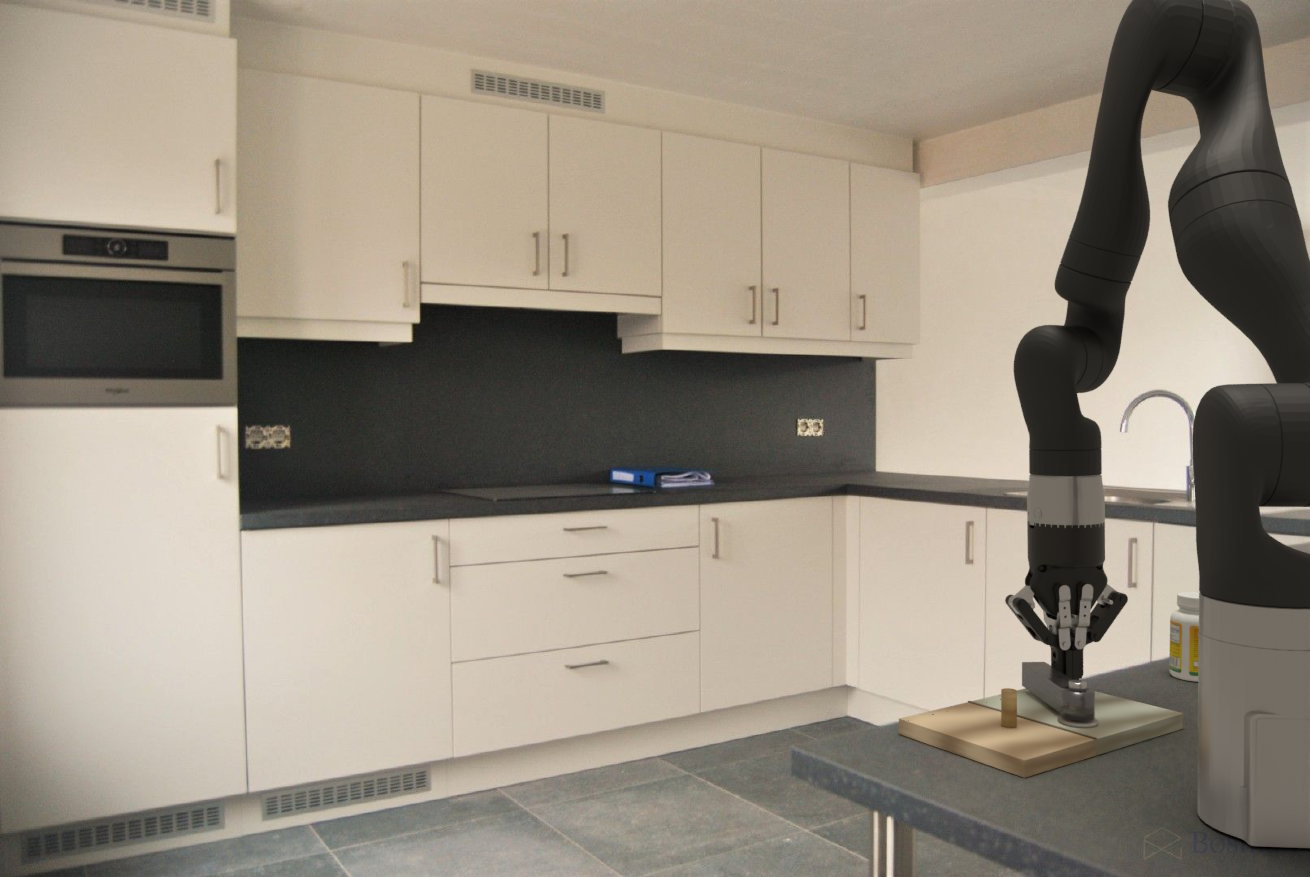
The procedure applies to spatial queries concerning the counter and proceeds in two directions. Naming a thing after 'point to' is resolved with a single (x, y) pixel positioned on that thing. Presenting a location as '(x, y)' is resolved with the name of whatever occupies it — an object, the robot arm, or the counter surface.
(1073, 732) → the lock plate
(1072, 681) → the lock bar
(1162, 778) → the counter surface
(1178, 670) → the supplement bottle
